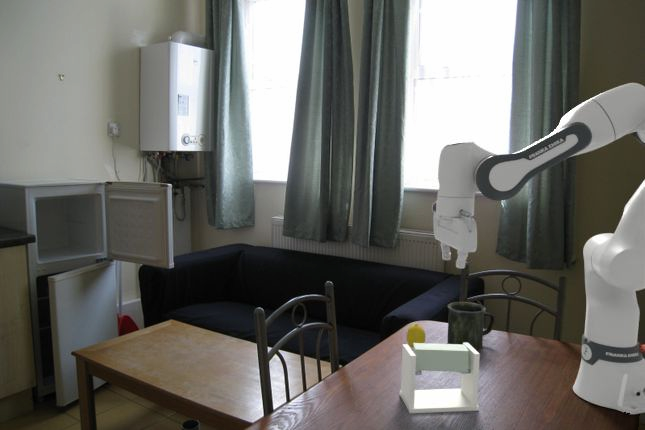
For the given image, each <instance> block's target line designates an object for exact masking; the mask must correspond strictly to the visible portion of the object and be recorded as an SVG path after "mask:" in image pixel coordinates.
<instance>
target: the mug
mask: <svg viewBox="0 0 645 430" xmlns="http://www.w3.org/2000/svg"><path fill="white" fill-rule="evenodd" d="M447 308H448V318H447V320H448V322H447V344H463V343H469V344H470V345H471V346H472V347H473V348H474V349H475V350H476V351H477V350H478V349H481V348H482V346H483V340H484V339H483V338H484V337H485V336H486V335H488V334H490V333H491V332H492V331H493V328H494V325H495V317H494V316H493V314H492V313H491V312H486V310H487V309H486V307H485V306H483V304H478V303H475V302H470V301H469V302H467V301H453V302H451V303H448V304H447ZM484 317H489V320H490V322H489V324H488V327H487V328H486V329H485V330H484V320H485V318H484Z"/></svg>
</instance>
